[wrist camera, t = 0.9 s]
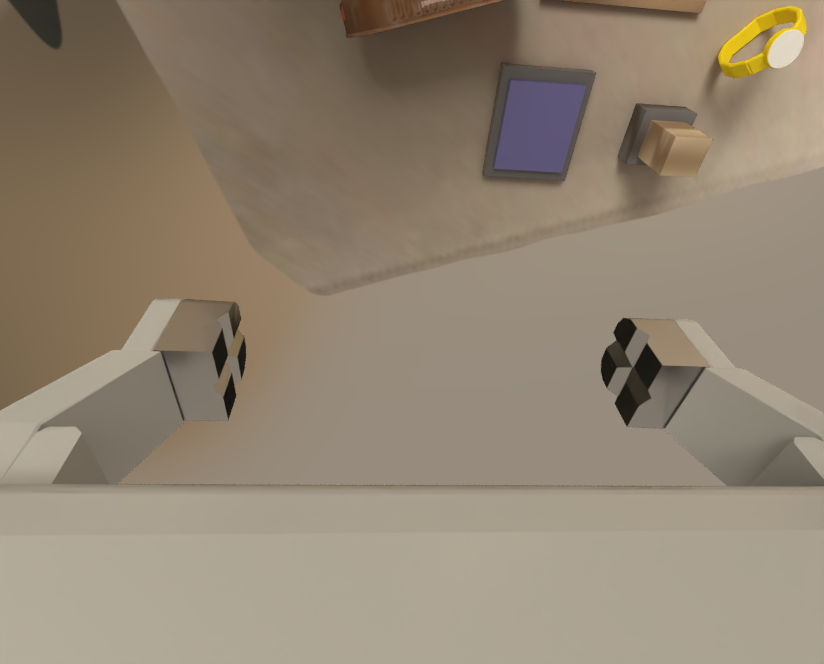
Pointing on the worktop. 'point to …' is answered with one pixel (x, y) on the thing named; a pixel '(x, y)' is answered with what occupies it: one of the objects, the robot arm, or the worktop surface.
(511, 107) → the ink pad
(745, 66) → the watch
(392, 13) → the tin
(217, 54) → the worktop surface
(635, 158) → the stamp
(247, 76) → the worktop surface
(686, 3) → the board
